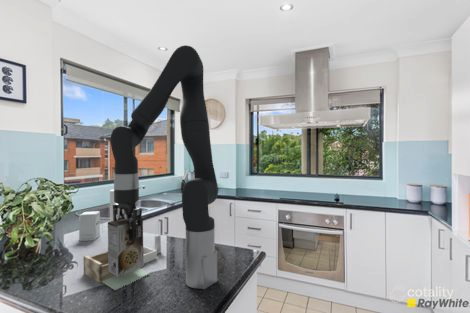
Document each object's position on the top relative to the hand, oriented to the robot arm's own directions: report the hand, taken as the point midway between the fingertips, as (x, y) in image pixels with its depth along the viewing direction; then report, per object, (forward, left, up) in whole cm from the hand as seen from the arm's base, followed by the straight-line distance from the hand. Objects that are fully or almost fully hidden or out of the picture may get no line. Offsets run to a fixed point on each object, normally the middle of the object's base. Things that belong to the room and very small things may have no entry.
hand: (126, 237), depth 82 cm
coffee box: (0, 0, -10) cm, 10 cm away
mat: (0, 0, -13) cm, 13 cm away
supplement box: (+53, -11, -14) cm, 56 cm away
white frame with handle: (+10, -12, -13) cm, 20 cm away
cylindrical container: (+33, -15, -14) cm, 39 cm away
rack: (+10, 0, -13) cm, 17 cm away
